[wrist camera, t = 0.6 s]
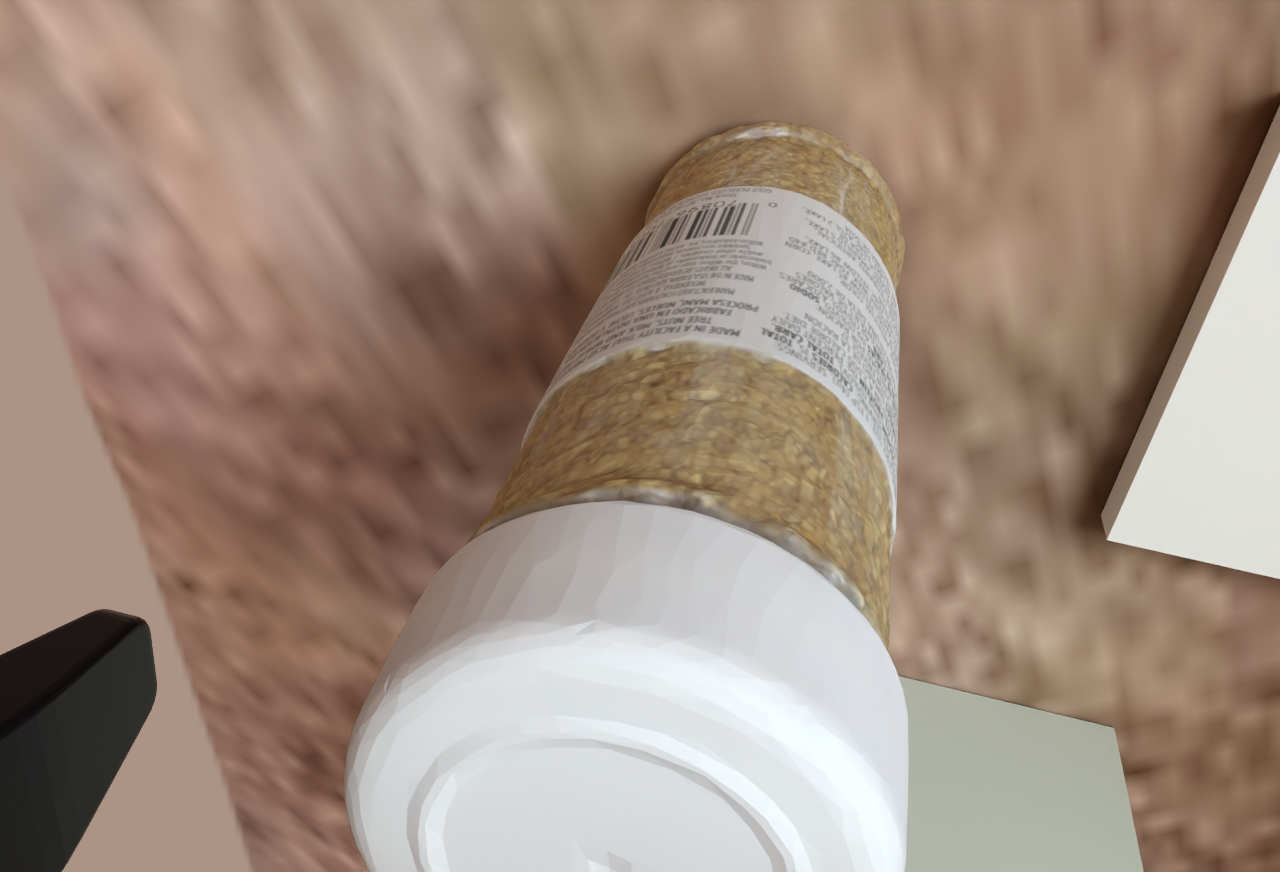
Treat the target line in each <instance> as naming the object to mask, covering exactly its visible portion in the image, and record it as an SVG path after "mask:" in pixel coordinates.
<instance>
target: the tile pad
mask: <svg viewBox="0 0 1280 872" xmlns="http://www.w3.org/2000/svg"><path fill="white" fill-rule="evenodd" d="M1101 518H1102V522H1103V526H1104V530H1105V535H1106V539H1107V540H1109V541H1113V542H1118V543H1122V544H1127V545H1131V546H1136V547H1140V548H1144V549H1149V550H1153V551H1158V552H1162V553H1167V554H1171V555H1175V556H1180V557H1184V558H1189V559H1193V560H1198V561H1202V562H1207V563H1211V564H1215V565H1220V566H1224V567H1229V568H1233V569H1238V570H1242V571H1246V572H1251V573H1255V574H1260V575H1264V576H1269V577H1273V578H1278V579H1280V106H1279V108H1278V110H1277V112H1276V115H1275V117H1274V119H1273V122H1272V124H1271V126H1270V128H1269V131H1268V133H1267V135H1266V138H1265V140H1264V142H1263V144H1262V147H1261V149H1260V151H1259V154H1258V156H1257V158H1256V161H1255V163H1254V165H1253V167H1252V170H1251V172H1250V174H1249V177H1248V179H1247V181H1246V183H1245V186H1244V188H1243V190H1242V193H1241V195H1240V197H1239V199H1238V202H1237V204H1236V206H1235V209H1234V211H1233V213H1232V216H1231V218H1230V220H1229V222H1228V225H1227V227H1226V229H1225V232H1224V234H1223V236H1222V238H1221V241H1220V243H1219V245H1218V248H1217V250H1216V252H1215V255H1214V257H1213V259H1212V261H1211V264H1210V266H1209V268H1208V271H1207V273H1206V275H1205V277H1204V280H1203V282H1202V284H1201V287H1200V289H1199V291H1198V293H1197V296H1196V298H1195V300H1194V303H1193V305H1192V307H1191V310H1190V312H1189V314H1188V316H1187V319H1186V321H1185V323H1184V326H1183V328H1182V330H1181V332H1180V335H1179V337H1178V339H1177V342H1176V344H1175V346H1174V349H1173V351H1172V353H1171V355H1170V358H1169V360H1168V362H1167V365H1166V367H1165V369H1164V371H1163V374H1162V376H1161V378H1160V381H1159V383H1158V385H1157V387H1156V390H1155V392H1154V394H1153V397H1152V399H1151V401H1150V404H1149V406H1148V408H1147V410H1146V413H1145V415H1144V417H1143V420H1142V422H1141V424H1140V426H1139V429H1138V431H1137V433H1136V436H1135V438H1134V440H1133V442H1132V445H1131V447H1130V449H1129V452H1128V454H1127V456H1126V459H1125V461H1124V463H1123V465H1122V468H1121V470H1120V472H1119V475H1118V477H1117V479H1116V481H1115V484H1114V486H1113V488H1112V491H1111V493H1110V495H1109V498H1108V500H1107V502H1106V504H1105V507H1104V509H1103V511H1102V514H1101Z"/></svg>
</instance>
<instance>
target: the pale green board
mask: <svg viewBox="0 0 1280 872" xmlns="http://www.w3.org/2000/svg"><path fill="white" fill-rule="evenodd" d="M898 677H899V680H900V683H901V686H902V689H903V692H904V697H905V703H906V708H907V713H908V754H909V770H908V815H907V841H906V864H905V871H904V872H1144V871H1143V867H1142V862H1141V857H1140V852H1139V847H1138V842H1137V837H1136V832H1135V827H1134V823H1133V818H1132V813H1131V808H1130V803H1129V798H1128V793H1127V788H1126V783H1125V778H1124V774H1123V769H1122V764H1121V759H1120V754H1119V749H1118V744H1117V739H1116V734H1115V730H1114V728H1112V727H1108V726H1104V725H1100V724H1096V723H1092V722H1087V721H1083V720H1079V719H1075V718H1071V717H1067V716H1062V715H1058V714H1054V713H1050V712H1046V711H1042V710H1038V709H1033V708H1029V707H1025V706H1021V705H1017V704H1013V703H1008V702H1004V701H1000V700H996V699H992V698H988V697H984V696H979V695H975V694H971V693H967V692H963V691H959V690H955V689H950V688H946V687H942V686H938V685H934V684H930V683H925V682H921V681H917V680H913V679H909V678H905V677H901V676H898Z"/></svg>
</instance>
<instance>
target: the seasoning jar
mask: <svg viewBox="0 0 1280 872" xmlns="http://www.w3.org/2000/svg"><path fill="white" fill-rule="evenodd" d="M904 252H905V242H904V237H903V233H902V229H901V221H900V214H899V211H898V208H897V205H896V203H895V201H894V198H893V196H892V194H891V191H890V189H889V187H888V185H887V183H886V182H885V181H884V179H883V178H882V177H881V176H880V174H879V173H878V172H877V170H876V169H875V168H874V167H873V165H872V164H871V163H870V162H869V160H868V159H867V158H866V157H865V155H864V154H862V153H860V152H858V151H856V150H854V149H853V148H852V147H851V146H849V145H848V144H846V143H845V142H844V141H842V140H841V139H839V138H836V137H834V136H832V135H830V134H826V133H824V132H822V131H820V130H817V129H815V128H812V127H809V126H802V125H796V124H792V123H787V122H773V121H766V122H758V123H755V124H752V125H744V126H738V127H734V128H732V129H729V130H727V131H726V132H724V133H722V134H720V135H715V136H711V137H709V138H707V139H705V140H704V141H702V142H700V143H699V144H697V145H696V146H694V147H693V148H692V149H691V150H690V151H689V152H688V153H687V154H686V155H685V156H683V157H682V158H681V159H680V160H679V161H678V162H677V163H676V164H675V165H674V166H673V167H672V168H671V169H670V170H669V171H668V173H667V174H666V176H665V177H664V179H663V181H662V183H661V185H660V187H659V189H658V191H657V193H656V194H655V196H654V198H653V200H652V201H651V203H650V205H649V208H648V210H647V214H646V219H645V227H644V228H643V229H642V230H641V231H640V232H639V233H638V234H637V235H636V237H635V238H634V239H633V240H632V242H631V243H630V245H629V246H628V247H627V249H626V250H625V252H624V253H623V255H622V257H621V259H620V261H619V262H618V264H617V266H616V267H615V269H614V271H613V273H612V275H611V276H610V278H609V280H608V282H607V283H606V285H605V287H604V289H603V291H602V292H601V294H600V296H599V298H598V299H597V301H596V303H595V305H594V306H593V308H592V310H591V312H590V313H589V315H588V317H587V319H586V320H585V322H584V324H583V326H582V327H581V329H580V331H579V333H578V335H577V336H576V338H575V340H574V342H573V344H572V345H571V347H570V349H569V351H568V353H567V354H566V356H565V358H564V360H563V362H562V363H561V365H560V367H559V369H558V371H557V372H556V374H555V376H554V378H553V380H552V381H551V383H550V385H549V387H548V389H547V390H546V392H545V394H544V396H543V398H542V399H541V401H540V403H539V405H538V407H537V409H536V411H535V413H534V415H533V417H532V419H531V421H530V423H529V425H528V427H527V430H526V432H525V435H524V438H523V442H522V445H521V449H520V453H519V455H518V457H517V459H516V461H515V463H514V465H513V467H512V469H511V471H510V473H509V476H508V478H507V480H506V482H505V484H504V486H503V487H502V489H501V490H500V492H499V493H498V495H497V497H496V500H495V502H494V504H493V506H492V508H491V510H490V513H489V515H488V516H487V517H486V519H485V520H484V522H483V523H482V526H481V528H479V529H478V530H477V531H476V532H475V533H474V534H473V535H472V537H471V538H470V539H469V541H468V542H467V544H466V545H465V546H464V547H463V548H462V549H461V550H459V551H458V552H457V553H456V554H455V555H454V556H452V557H451V558H450V559H449V560H448V561H447V562H446V563H445V564H444V565H443V566H442V568H441V569H440V570H439V571H438V572H437V573H436V574H435V575H434V577H433V579H432V580H431V582H430V583H429V585H428V586H427V588H426V590H425V591H424V593H423V594H422V596H421V598H420V599H419V601H418V602H417V604H416V605H415V607H414V609H413V611H412V613H411V615H410V617H409V618H408V620H407V622H406V624H405V626H404V628H403V629H402V631H401V633H400V635H399V637H398V639H397V641H396V642H395V644H394V646H393V648H392V650H391V652H390V653H389V655H388V657H387V659H386V661H385V663H384V665H383V666H382V668H381V670H380V672H379V674H378V676H377V678H376V680H375V682H374V684H373V686H372V688H371V690H370V692H369V694H368V696H367V698H366V700H365V702H364V704H363V707H362V709H361V711H360V713H359V715H358V718H357V720H356V722H355V724H354V726H353V729H352V732H351V737H350V741H349V746H348V750H347V755H346V763H345V774H344V796H345V805H346V810H347V815H348V819H349V823H350V827H351V830H352V834H353V836H354V839H355V842H356V844H357V847H358V849H359V852H360V854H361V856H362V858H363V860H364V862H365V864H366V866H367V868H368V870H369V871H370V872H904V871H905V864H906V841H907V815H908V770H909V754H908V713H907V708H906V703H905V697H904V692H903V689H902V686H901V683H900V680H899V677H898V674H897V671H896V669H895V667H894V664H893V662H892V660H891V658H890V655H889V654H888V646H889V632H890V624H889V617H888V615H889V604H890V556H891V551H892V546H893V541H894V536H895V531H896V508H897V462H898V375H899V335H900V320H899V310H898V304H897V299H896V288H897V286H898V284H899V278H900V273H901V269H902V265H903V260H904Z"/></svg>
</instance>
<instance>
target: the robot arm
mask: <svg viewBox="0 0 1280 872" xmlns="http://www.w3.org/2000/svg"><path fill="white" fill-rule="evenodd" d="M156 690H157V680H156V672H155V664H154V656H153V648H152V640H151V633H150V628H149V626H148V624H147V623H146V621H145V620H143V619H141V618H140V617H136V616H132V615H128V614H124V613H121V612H117V611H113V610H108V609H101V610H96V611H93V612H91V613H88V614H86V615H84V616H82V617H80V618H78V619H76V620H74V621H72V622H70V623H67V624H65V625H63V626H61V627H59V628H57V629H55V630H53V631H50V632H48V633H46V634H44V635H42V636H40V637H38V638H36V639H34V640H31V641H29V642H27V643H25V644H23V645H21V646H19V647H17V648H14V649H12V650H10V651H8V652H6V653H4V654H2V655H0V872H61V871H62V870H63V869H64V867H65V866H66V864H67V863H68V861H69V859H70V857H71V856H72V854H73V852H74V851H75V849H76V847H77V845H78V844H79V842H80V840H81V838H82V837H83V835H84V833H85V831H86V829H87V827H88V826H89V824H90V822H91V820H92V818H93V816H94V815H95V813H96V811H97V809H98V807H99V805H100V803H101V802H102V800H103V798H104V796H105V794H106V792H107V791H108V789H109V787H110V785H111V783H112V781H113V780H114V778H115V776H116V774H117V772H118V770H119V769H120V767H121V765H122V763H123V761H124V759H125V758H126V755H127V754H128V752H129V750H130V748H131V746H132V745H133V743H134V741H135V739H136V737H137V736H138V734H139V732H140V730H141V728H142V726H143V724H144V723H145V721H146V719H147V717H148V715H149V713H150V711H151V709H152V706H153V704H154V701H155V697H156Z"/></svg>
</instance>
